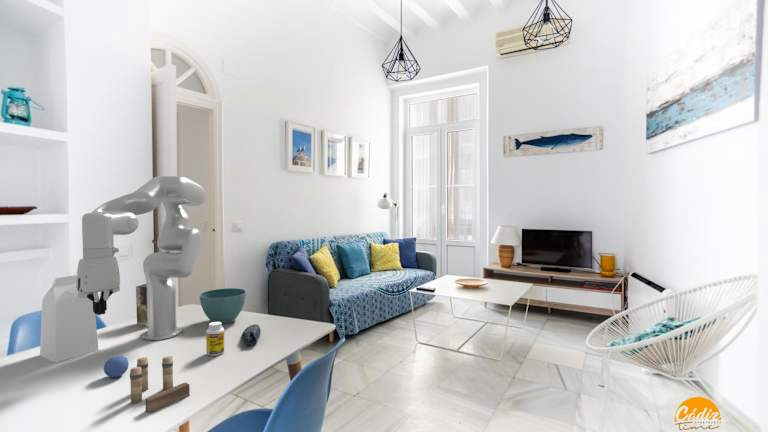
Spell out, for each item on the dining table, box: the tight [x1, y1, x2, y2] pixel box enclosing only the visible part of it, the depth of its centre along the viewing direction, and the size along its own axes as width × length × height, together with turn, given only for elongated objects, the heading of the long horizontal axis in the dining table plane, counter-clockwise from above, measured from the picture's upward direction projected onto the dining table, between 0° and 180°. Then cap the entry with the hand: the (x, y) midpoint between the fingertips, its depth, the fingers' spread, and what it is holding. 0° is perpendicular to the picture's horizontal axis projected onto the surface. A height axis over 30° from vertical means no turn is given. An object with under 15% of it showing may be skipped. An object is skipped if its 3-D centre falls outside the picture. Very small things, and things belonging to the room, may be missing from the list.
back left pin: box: [161, 356, 174, 391], centre depth 105 cm, size 3×3×8 cm
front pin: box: [136, 356, 149, 393], centre depth 104 cm, size 3×3×8 cm
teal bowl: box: [199, 287, 247, 325], centre depth 164 cm, size 18×18×12 cm
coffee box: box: [135, 283, 148, 326], centre depth 161 cm, size 9×6×16 cm
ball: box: [103, 355, 130, 378], centre depth 112 cm, size 6×6×6 cm
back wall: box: [144, 382, 191, 414], centre depth 98 cm, size 2×10×3 cm, turn 148°
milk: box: [39, 274, 99, 363], centre depth 130 cm, size 12×12×26 cm
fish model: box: [241, 324, 261, 346], centre depth 145 cm, size 7×21×5 cm, turn 16°
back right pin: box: [129, 366, 143, 405], centre depth 98 cm, size 3×3×8 cm
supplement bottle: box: [205, 321, 225, 357], centre depth 130 cm, size 6×6×10 cm
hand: (99, 313), depth 117 cm, fingers closed
